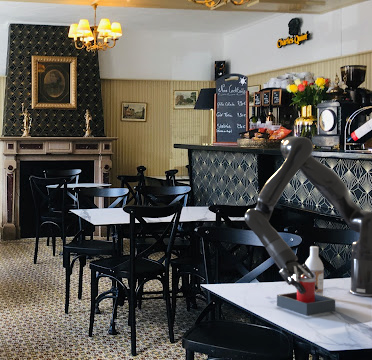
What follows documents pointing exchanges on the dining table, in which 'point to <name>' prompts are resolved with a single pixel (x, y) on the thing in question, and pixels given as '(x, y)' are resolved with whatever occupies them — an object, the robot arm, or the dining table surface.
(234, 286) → the dining table surface
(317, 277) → the bath foam
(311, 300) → the can
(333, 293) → the dining table surface
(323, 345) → the dining table surface
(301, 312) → the tub
